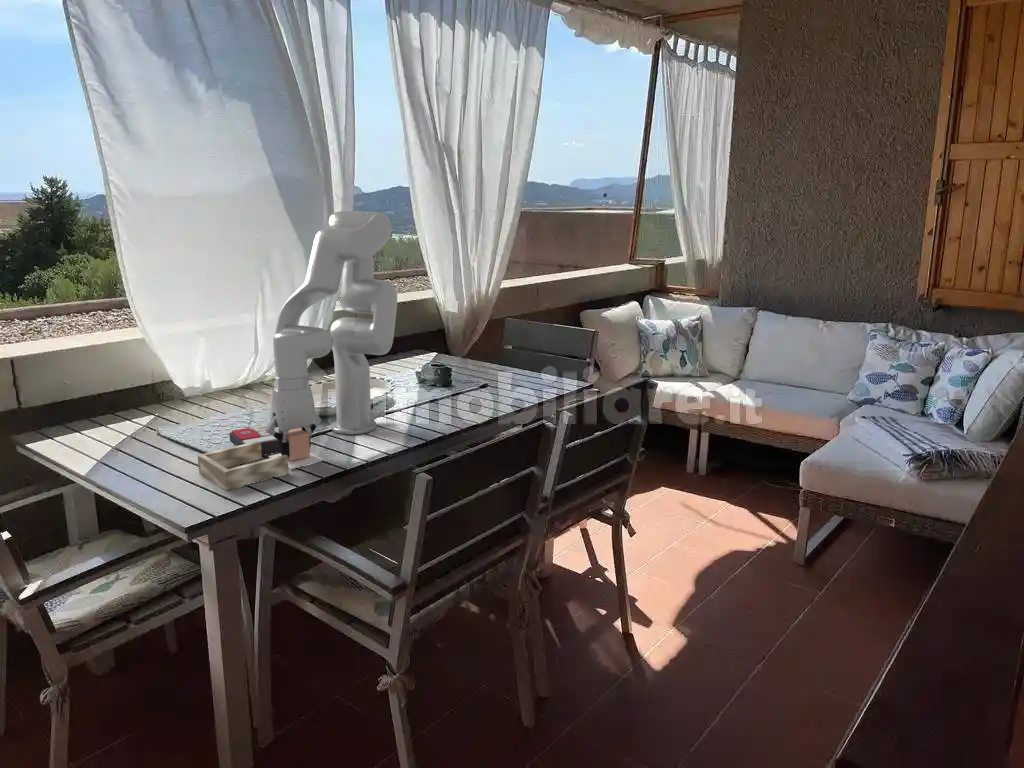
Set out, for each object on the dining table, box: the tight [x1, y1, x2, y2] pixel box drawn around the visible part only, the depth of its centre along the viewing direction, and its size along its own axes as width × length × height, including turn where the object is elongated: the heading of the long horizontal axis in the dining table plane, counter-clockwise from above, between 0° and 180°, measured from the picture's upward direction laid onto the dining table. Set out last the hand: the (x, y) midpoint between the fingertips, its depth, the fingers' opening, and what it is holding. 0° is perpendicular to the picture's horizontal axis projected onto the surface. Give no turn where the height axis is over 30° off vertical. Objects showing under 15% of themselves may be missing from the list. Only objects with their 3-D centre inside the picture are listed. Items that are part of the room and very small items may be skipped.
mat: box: [267, 452, 325, 470], centre depth 183 cm, size 9×11×1 cm
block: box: [287, 428, 311, 460], centre depth 182 cm, size 5×5×6 cm
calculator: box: [228, 424, 280, 456], centre depth 192 cm, size 11×4×15 cm
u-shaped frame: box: [197, 441, 290, 491], centre depth 173 cm, size 15×14×4 cm
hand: (295, 452), depth 182 cm, fingers closed on block, 4 cm apart
